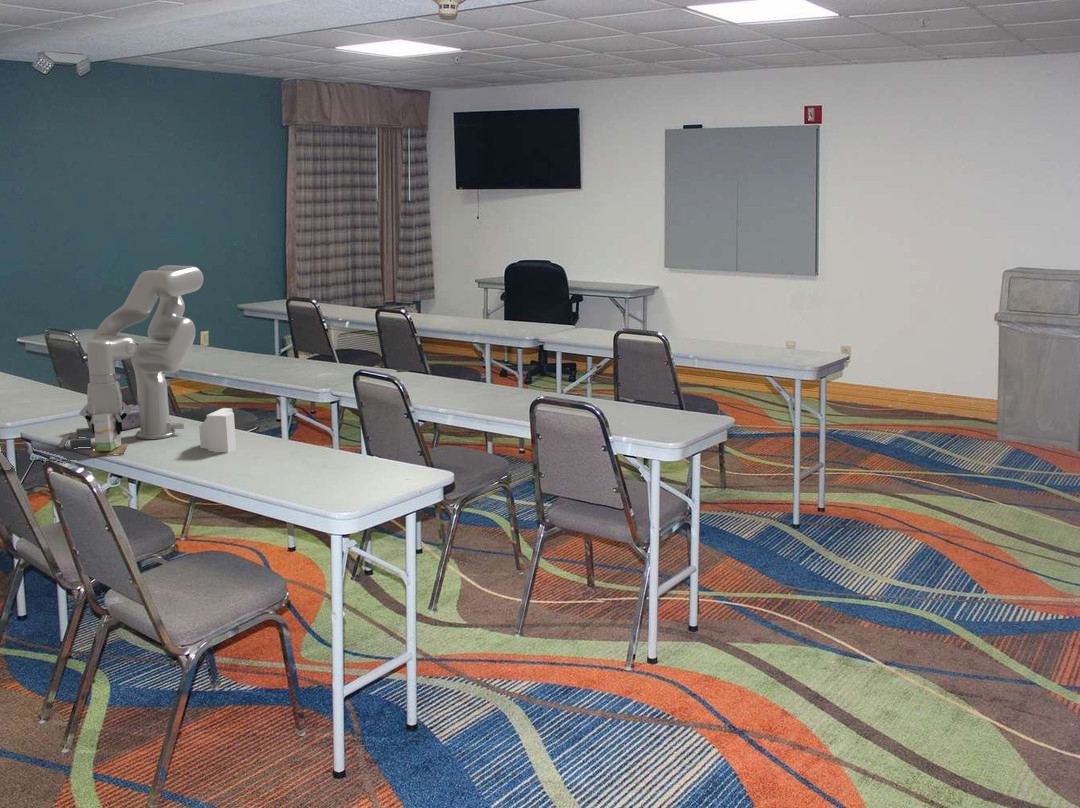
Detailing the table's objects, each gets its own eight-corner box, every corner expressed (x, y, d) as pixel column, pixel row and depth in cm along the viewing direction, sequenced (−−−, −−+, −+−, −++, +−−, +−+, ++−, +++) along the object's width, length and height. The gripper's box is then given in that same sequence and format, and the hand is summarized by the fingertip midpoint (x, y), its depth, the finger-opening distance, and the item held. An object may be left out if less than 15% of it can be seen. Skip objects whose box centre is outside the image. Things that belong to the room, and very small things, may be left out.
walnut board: (127, 445, 343) (127, 443, 343) (124, 454, 332) (123, 453, 332) (94, 447, 340) (94, 445, 340) (89, 457, 329) (89, 455, 329)
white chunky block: (228, 453, 335) (225, 416, 332) (195, 451, 337) (192, 414, 334) (243, 444, 345) (241, 409, 342) (212, 442, 347) (209, 407, 344)
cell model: (79, 401, 358) (125, 392, 376) (81, 432, 361) (128, 421, 378) (106, 405, 353) (152, 395, 370) (108, 436, 355) (154, 425, 372)
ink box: (111, 451, 332) (107, 405, 329) (95, 451, 332) (91, 405, 329) (122, 444, 340) (118, 399, 337) (107, 444, 340) (102, 399, 337)
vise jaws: (97, 435, 356) (96, 427, 355) (90, 448, 340) (90, 439, 339) (66, 437, 353) (65, 429, 352) (58, 450, 337) (57, 441, 336)
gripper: (132, 375, 337) (137, 429, 341) (74, 378, 332) (80, 433, 336) (130, 379, 330) (135, 435, 334) (71, 382, 325) (77, 439, 329)
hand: (107, 433), depth 335 cm, fingers closed on ink box, 6 cm apart
